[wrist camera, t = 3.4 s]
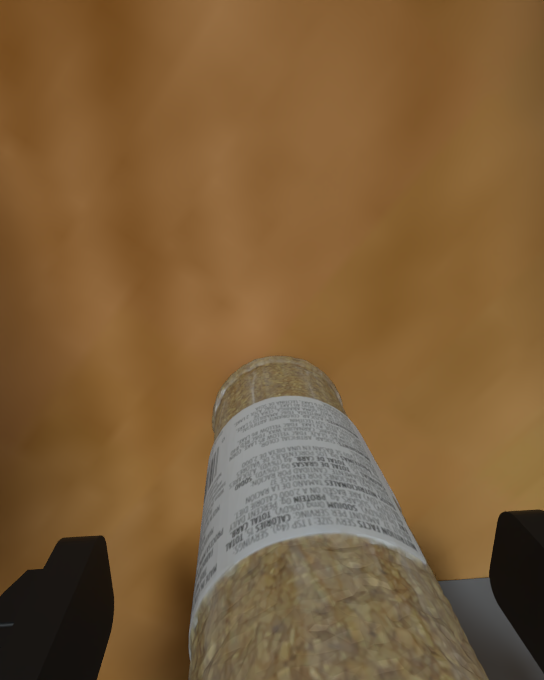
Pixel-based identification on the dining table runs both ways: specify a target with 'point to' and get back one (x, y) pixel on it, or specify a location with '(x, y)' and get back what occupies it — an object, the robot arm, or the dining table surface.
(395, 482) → the dining table surface
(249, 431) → the sprinkles bottle
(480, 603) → the well
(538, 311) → the dining table surface
